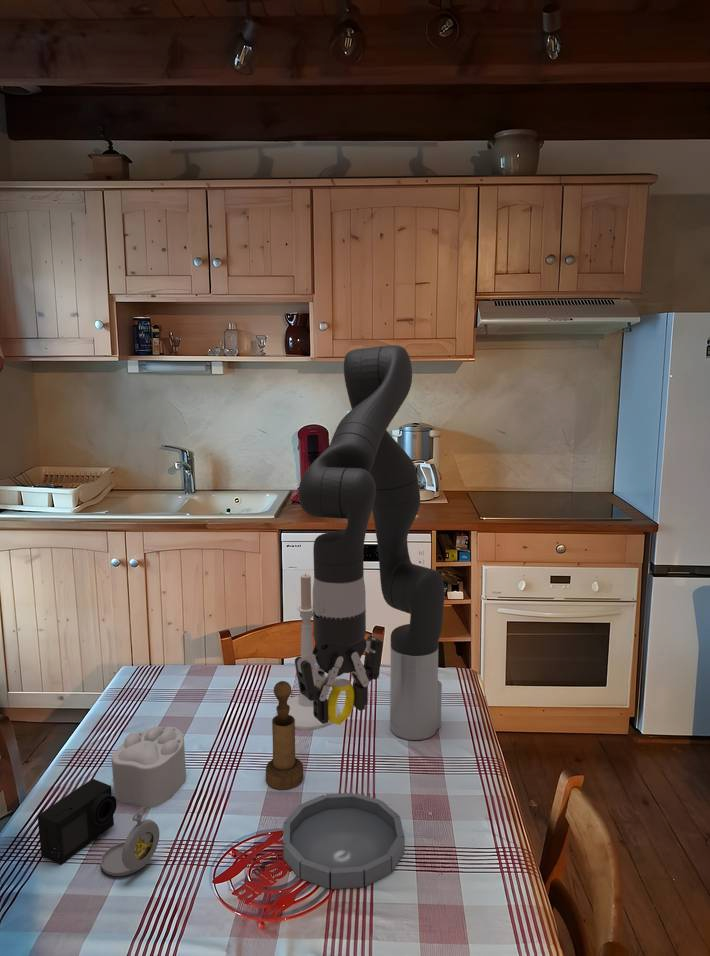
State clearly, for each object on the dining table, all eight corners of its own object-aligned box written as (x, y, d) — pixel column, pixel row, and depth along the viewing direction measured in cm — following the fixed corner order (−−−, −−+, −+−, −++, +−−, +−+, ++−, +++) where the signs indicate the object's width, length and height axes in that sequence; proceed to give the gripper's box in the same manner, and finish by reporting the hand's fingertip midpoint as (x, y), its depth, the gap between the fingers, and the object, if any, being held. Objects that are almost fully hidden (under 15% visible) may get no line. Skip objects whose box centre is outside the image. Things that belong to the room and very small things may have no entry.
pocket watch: (107, 848, 109) (103, 788, 107) (164, 845, 110) (160, 785, 108) (92, 888, 101) (87, 824, 99) (154, 884, 102) (150, 820, 100)
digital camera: (66, 869, 105) (62, 826, 104) (40, 856, 108) (36, 814, 106) (120, 827, 114) (117, 787, 113) (95, 817, 116) (92, 777, 115)
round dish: (358, 793, 122) (357, 780, 122) (427, 854, 107) (427, 839, 107) (262, 834, 112) (262, 820, 111) (324, 907, 97) (324, 891, 97)
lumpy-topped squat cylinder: (105, 799, 121) (101, 752, 119) (149, 757, 133) (146, 714, 132) (159, 811, 118) (156, 762, 116) (199, 767, 130) (197, 722, 129)
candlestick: (351, 708, 150) (350, 570, 145) (315, 736, 140) (313, 588, 134) (301, 693, 157) (299, 560, 152) (264, 718, 147) (259, 577, 141)
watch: (342, 710, 109) (343, 673, 108) (358, 715, 108) (359, 676, 107) (321, 726, 104) (322, 687, 103) (338, 731, 103) (339, 691, 102)
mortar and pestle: (297, 792, 123) (295, 693, 119) (260, 787, 124) (257, 689, 121) (307, 769, 129) (305, 675, 126) (272, 765, 130) (270, 672, 127)
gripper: (365, 588, 110) (366, 691, 113) (281, 608, 102) (285, 718, 105) (395, 602, 104) (395, 711, 107) (309, 625, 96) (311, 741, 99)
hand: (340, 714), depth 106 cm, fingers closed on watch, 6 cm apart
